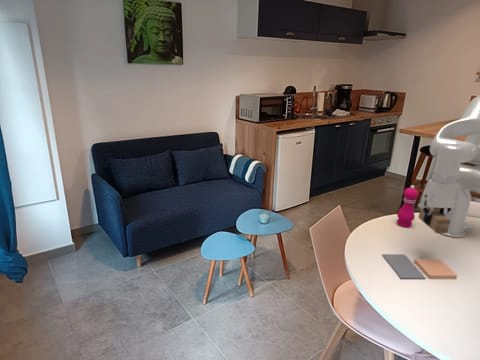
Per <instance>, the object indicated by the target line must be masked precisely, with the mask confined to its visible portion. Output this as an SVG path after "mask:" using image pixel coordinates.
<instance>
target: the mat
mask: <svg viewBox="0 0 480 360" xmlns="http://www.w3.org/2000/svg"><path fill="white" fill-rule="evenodd" d="M381 256H382V258H383V259H385V261H386V262H387V264H388V265H389V266H390V267H391V269H392V270H393V271H394V272H395V274H396V275H397V276H398V278H399V279H400V280H426V278H427V277H425V275H424V273H423V272H422V271H421V270H420V269H419V268H418V267H416V265H414V264H415V263H414V262H413V261H411V260H410V258H408V257H407V256H406V254H404V253H403V254H402V253H401V254H395V253H394V254H393V253H391V254H390V253H389V254H388V253H386V254H385V253H384V254H382V255H381Z"/></svg>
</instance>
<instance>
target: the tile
mask: <svg viewBox="0 0 480 360" xmlns="http://www.w3.org/2000/svg"><path fill="white" fill-rule="evenodd" d="M413 264H415V266H417V268H418V269H419V271H420V272H421V273H422V274H423V275H424V276H426V278H428V280H457V278H458V275H457V273H455V272H454V271H453V270H452V269H451V268H450V267H449V266H448V265H447V264H446V263H445V262H443V260H441V259H437V258H436V259H435V258H434V259H428V258H427V259H425V258H423V259H419V258H414V261H413Z"/></svg>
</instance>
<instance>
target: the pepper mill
mask: <svg viewBox="0 0 480 360" xmlns="http://www.w3.org/2000/svg"><path fill="white" fill-rule="evenodd" d="M403 196H404V197H403V201H404V202H403V205H402V207H401V208H400V209H399V210H398V212H397V215H396V217H397V221H396V224H397V225H398V226H399V227H402V228H411V227H412V224H413V221H414V220H415V211H414V204H415V203H416V201H417V198H419V191H418V190H417V189H416V188H415V185H414V184H413V185H410V187H408V188H407V187H406V188H405V189H404V191H403Z"/></svg>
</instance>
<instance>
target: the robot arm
mask: <svg viewBox="0 0 480 360" xmlns="http://www.w3.org/2000/svg"><path fill="white" fill-rule="evenodd" d="M459 137H466V139H465V140H461V139H460V140H459V139H455V138H459ZM429 152H430V154H431V156H433V157H436V158H435V163H434V169H433V171H432V172H433V173H432V175H431V179H428V181H427V182H426V184H425V187H424V190H423V192H422V196H421V199H420V202H419V203H418V204H417V207H419V209H422V210H423V211H424V212H425V215H424V222H425V223H426V224H427V225H430V222H431V218H432V215H431V213H432V211H433V209H439V211H438V212H439V213H441V214H442V215H443V216H445V217H446V218H447V219H449V220H450V224H449V228H448V231H447V233H439V234H440V235H443V236H446V237H450V238H457V239H458V238H464V237H465V236H466V231H465V230H473V229H474V226H473V224H467V223H466V222H465V221H466V218H467V215H468V211H469V207H470V205H471V201H472V195H471V192H470V191H469V190H473V191H477V192H480V167H477V166H473V165H478V166H480V95H477V96H476V97H474V98H472V100H470V101H469V103H468V106H467V108H465V110H464V112H463V114H462V116H461V117H460V118H459V119H457V120H455V121H452V122H450V123H447V124H446V125H443V126H442V127H441V128H440V129H439V130H438V131H437V133H436V134H435V136H434V138H433V139H432V141H431V143H430V146H429ZM463 163H469V164H473V165H467V164H463ZM424 206H426V207H424ZM424 222H423V223H424ZM425 223H424V224H425ZM426 224H425V225H426ZM427 225H426V226H427Z"/></svg>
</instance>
